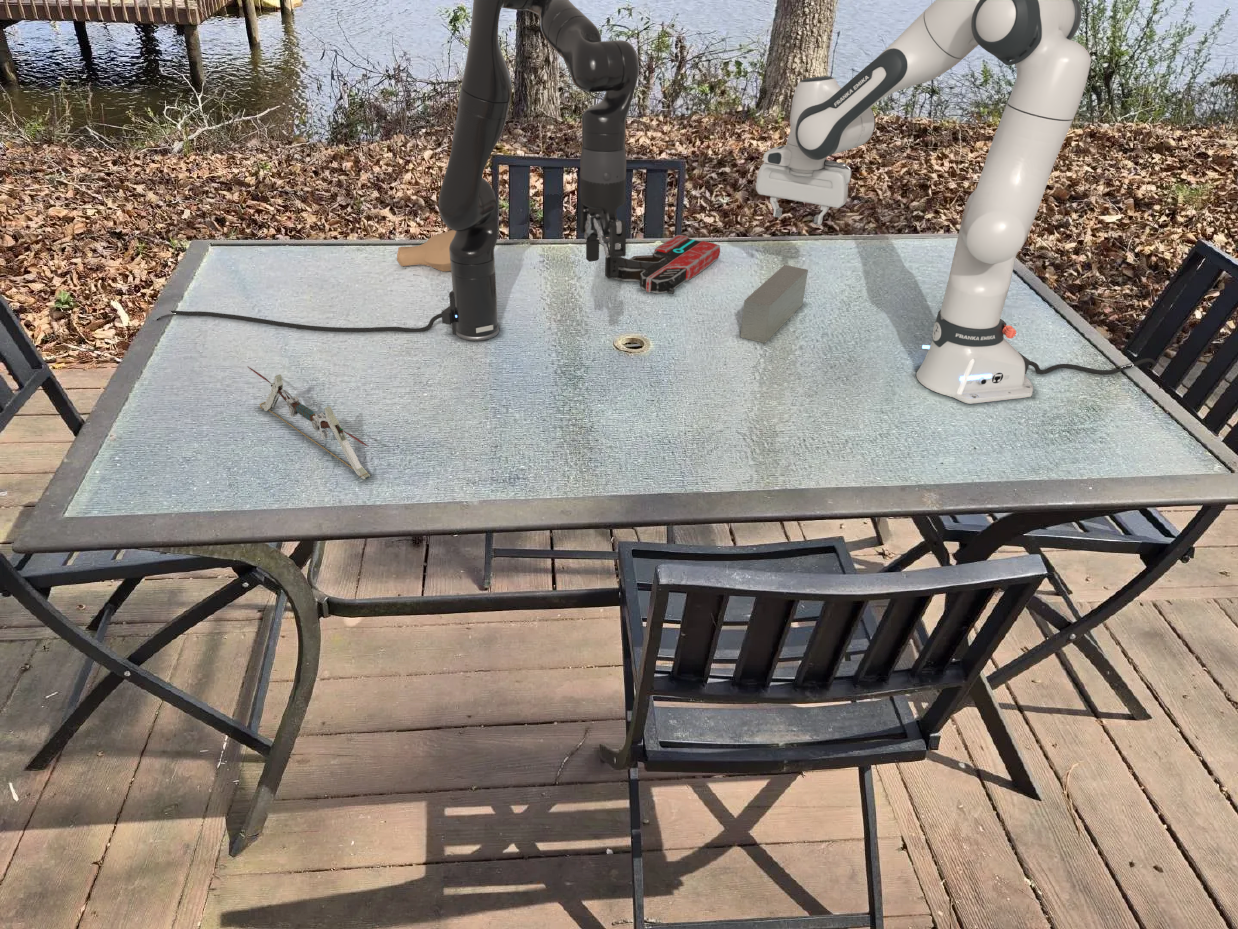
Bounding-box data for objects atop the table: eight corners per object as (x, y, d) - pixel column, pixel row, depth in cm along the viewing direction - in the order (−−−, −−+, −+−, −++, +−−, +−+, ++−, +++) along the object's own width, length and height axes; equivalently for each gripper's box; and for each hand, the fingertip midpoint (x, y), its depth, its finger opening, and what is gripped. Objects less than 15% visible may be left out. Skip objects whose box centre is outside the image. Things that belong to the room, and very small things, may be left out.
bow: (380, 482, 144) (372, 430, 139) (371, 487, 143) (362, 435, 137) (261, 400, 165) (250, 352, 160) (252, 403, 164) (240, 355, 159)
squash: (475, 275, 220) (467, 243, 214) (398, 282, 222) (387, 251, 216) (480, 253, 228) (473, 221, 222) (405, 260, 230) (396, 229, 224)
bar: (764, 343, 192) (769, 306, 187) (740, 337, 194) (744, 300, 189) (802, 304, 210) (808, 269, 205) (779, 299, 212) (784, 264, 208)
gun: (600, 263, 216) (668, 282, 208) (660, 227, 238) (724, 243, 230) (599, 280, 219) (667, 299, 211) (659, 243, 241) (723, 259, 233)
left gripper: (642, 184, 140) (638, 280, 149) (607, 161, 151) (605, 252, 160) (599, 188, 137) (597, 286, 146) (566, 165, 148) (567, 257, 157)
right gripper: (857, 160, 187) (846, 224, 195) (767, 147, 195) (760, 208, 203) (848, 167, 182) (838, 232, 190) (756, 153, 190) (750, 216, 198)
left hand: (601, 268), depth 153 cm, fingers open, 8 cm apart
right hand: (797, 220), depth 196 cm, fingers open, 8 cm apart
